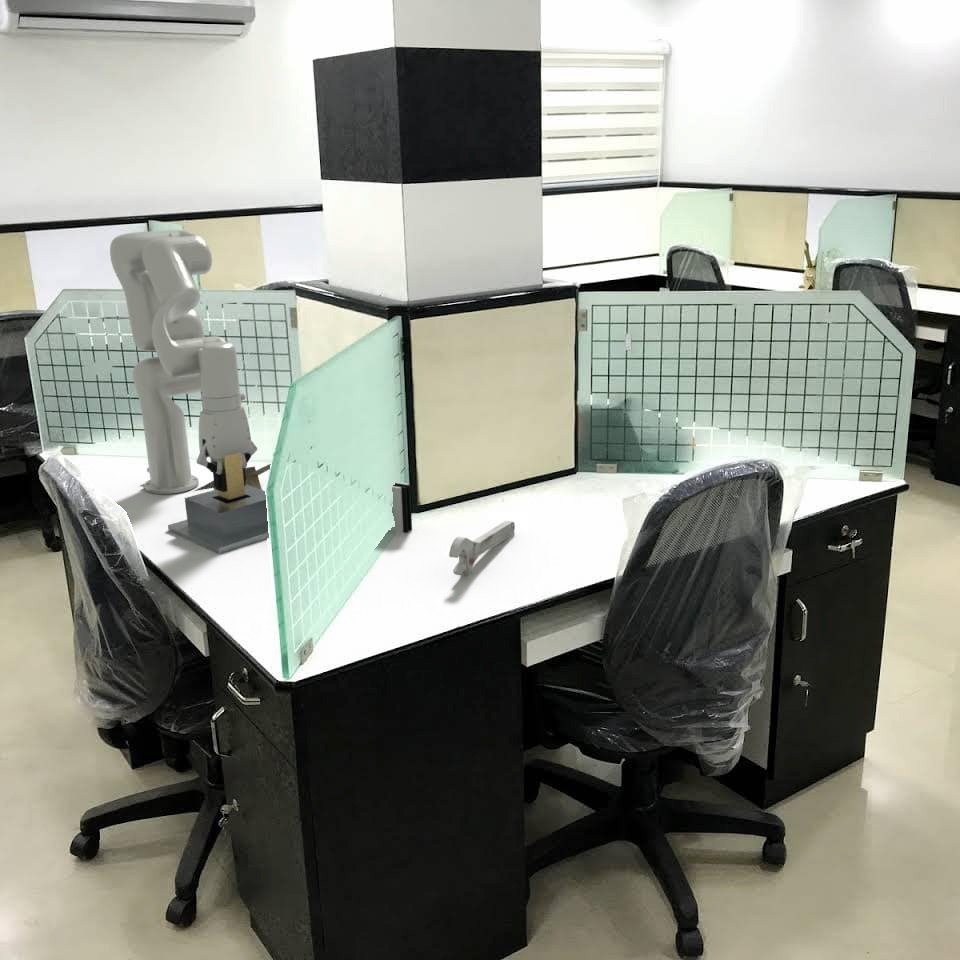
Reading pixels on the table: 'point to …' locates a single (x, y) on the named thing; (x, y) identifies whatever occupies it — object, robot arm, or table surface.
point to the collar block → (224, 520)
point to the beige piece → (250, 478)
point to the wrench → (478, 546)
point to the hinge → (401, 508)
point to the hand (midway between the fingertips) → (230, 487)
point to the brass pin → (233, 476)
